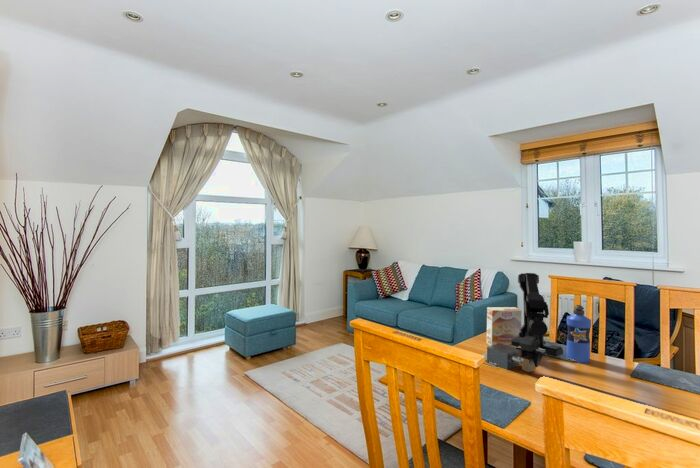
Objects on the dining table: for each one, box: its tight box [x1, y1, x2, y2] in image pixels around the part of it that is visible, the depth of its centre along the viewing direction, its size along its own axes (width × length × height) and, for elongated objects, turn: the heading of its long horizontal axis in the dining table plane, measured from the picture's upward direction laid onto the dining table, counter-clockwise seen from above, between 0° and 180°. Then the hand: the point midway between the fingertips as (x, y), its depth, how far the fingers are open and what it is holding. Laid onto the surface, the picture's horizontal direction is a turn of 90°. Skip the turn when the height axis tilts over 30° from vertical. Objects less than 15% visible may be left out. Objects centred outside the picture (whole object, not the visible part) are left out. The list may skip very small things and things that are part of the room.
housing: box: [486, 343, 521, 371], centre depth 156 cm, size 9×10×7 cm
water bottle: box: [566, 304, 592, 364], centre depth 160 cm, size 9×9×25 cm
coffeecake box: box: [486, 306, 522, 348], centre depth 177 cm, size 15×7×20 cm, turn 91°
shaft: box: [511, 355, 537, 373], centre depth 152 cm, size 5×18×5 cm, turn 33°
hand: (536, 367), depth 143 cm, fingers closed
